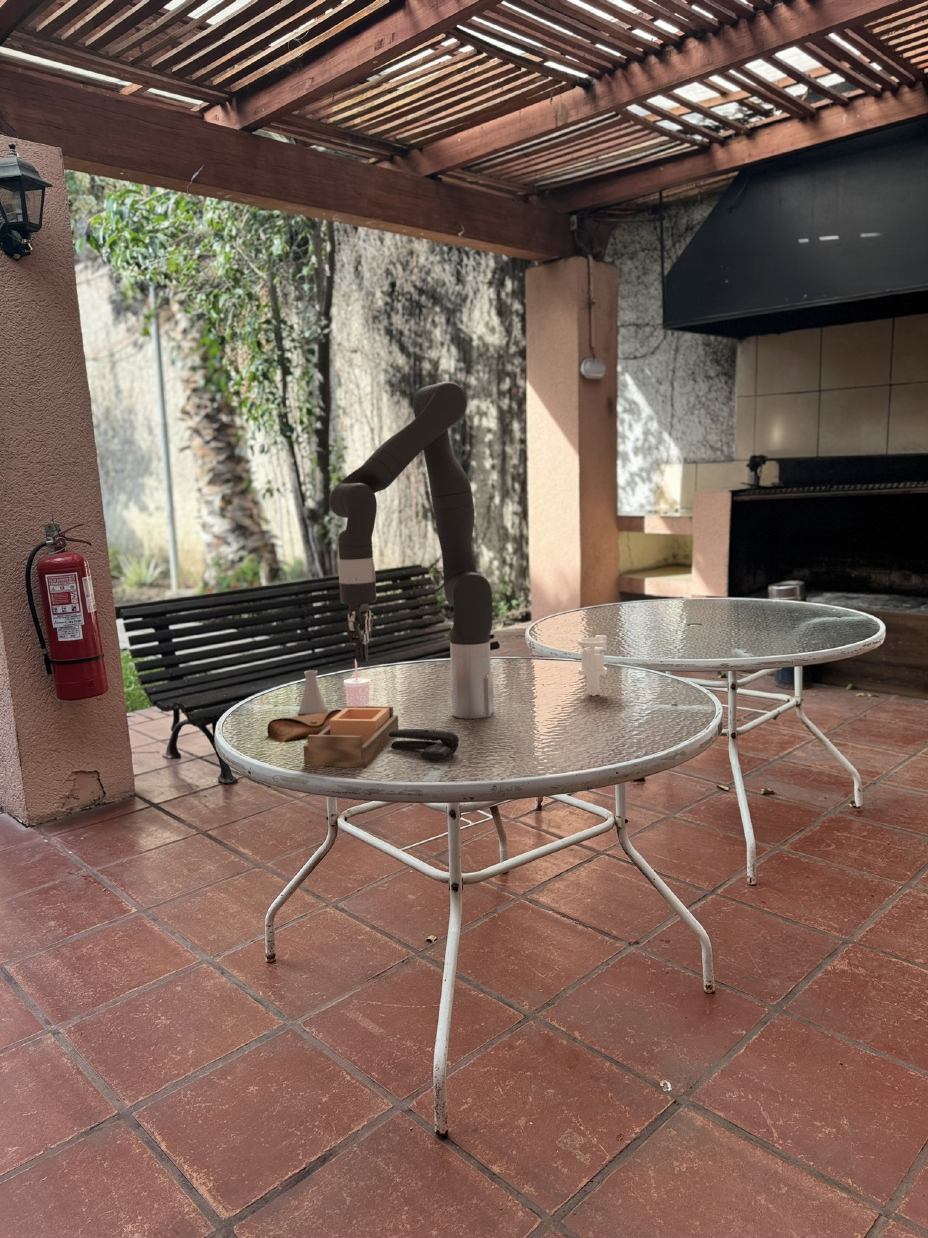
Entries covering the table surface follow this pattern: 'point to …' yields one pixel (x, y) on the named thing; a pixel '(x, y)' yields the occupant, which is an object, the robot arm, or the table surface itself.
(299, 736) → the sunglasses case
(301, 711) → the flask
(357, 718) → the box
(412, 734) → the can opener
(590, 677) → the white plastic upright piece
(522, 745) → the table surface
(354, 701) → the beverage cup
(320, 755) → the bay
